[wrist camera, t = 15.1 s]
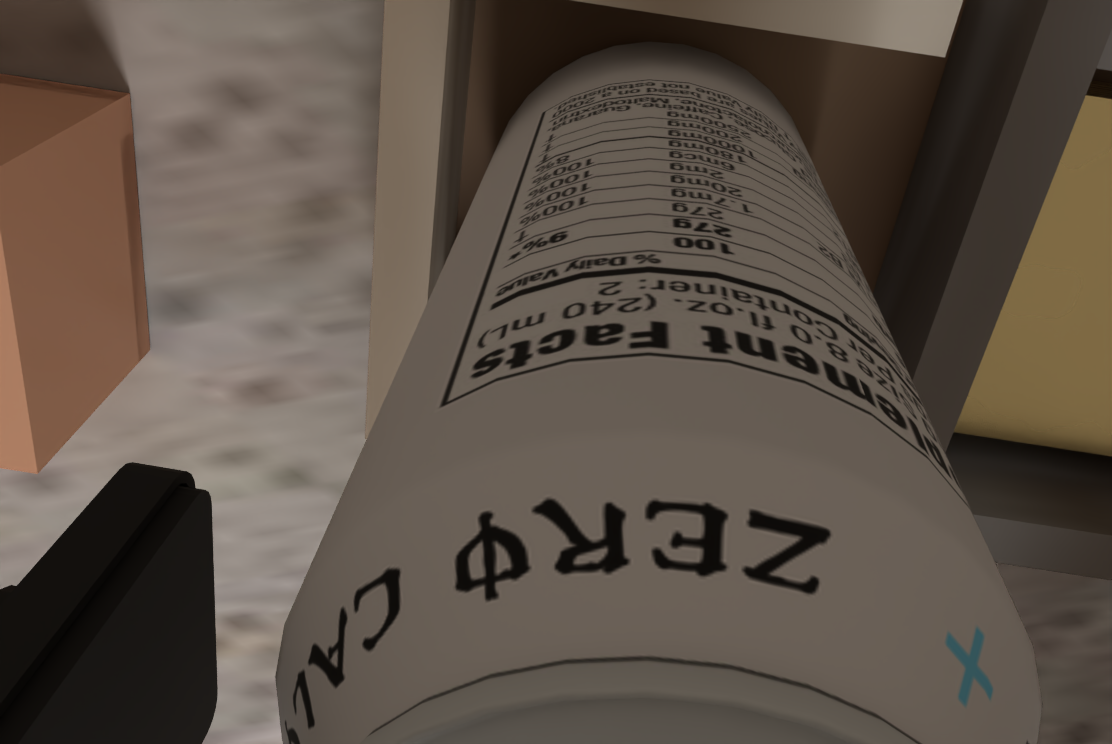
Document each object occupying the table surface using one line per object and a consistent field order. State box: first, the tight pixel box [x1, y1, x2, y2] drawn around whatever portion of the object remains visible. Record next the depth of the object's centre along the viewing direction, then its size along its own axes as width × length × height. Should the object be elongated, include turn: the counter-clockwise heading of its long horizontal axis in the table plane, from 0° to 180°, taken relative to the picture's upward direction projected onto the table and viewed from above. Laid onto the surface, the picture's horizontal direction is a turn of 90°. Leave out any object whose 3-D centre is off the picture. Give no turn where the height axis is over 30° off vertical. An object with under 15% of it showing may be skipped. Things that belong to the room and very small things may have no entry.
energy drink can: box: [275, 42, 1043, 744], centre depth 13 cm, size 6×6×15 cm
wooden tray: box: [365, 0, 1112, 580], centre depth 19 cm, size 20×10×4 cm, turn 83°
